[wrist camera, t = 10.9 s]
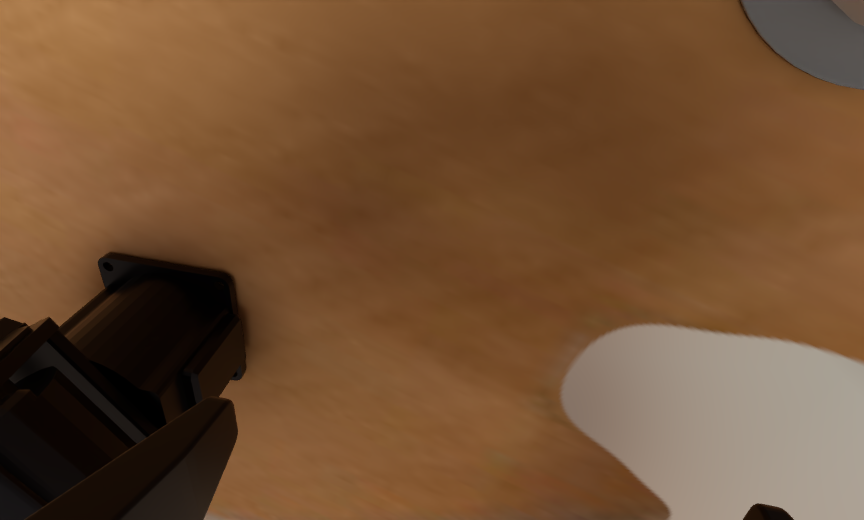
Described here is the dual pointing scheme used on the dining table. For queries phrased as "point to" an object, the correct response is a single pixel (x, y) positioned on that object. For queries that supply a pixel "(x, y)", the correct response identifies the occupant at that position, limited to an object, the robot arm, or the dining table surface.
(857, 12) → the can
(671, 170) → the dining table surface
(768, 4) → the grey plate
